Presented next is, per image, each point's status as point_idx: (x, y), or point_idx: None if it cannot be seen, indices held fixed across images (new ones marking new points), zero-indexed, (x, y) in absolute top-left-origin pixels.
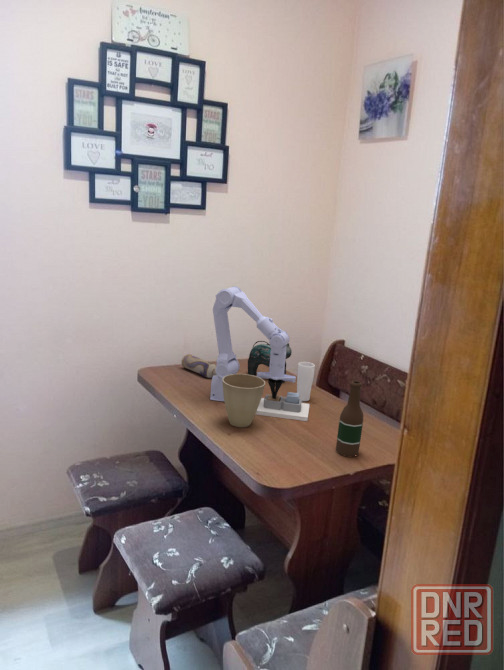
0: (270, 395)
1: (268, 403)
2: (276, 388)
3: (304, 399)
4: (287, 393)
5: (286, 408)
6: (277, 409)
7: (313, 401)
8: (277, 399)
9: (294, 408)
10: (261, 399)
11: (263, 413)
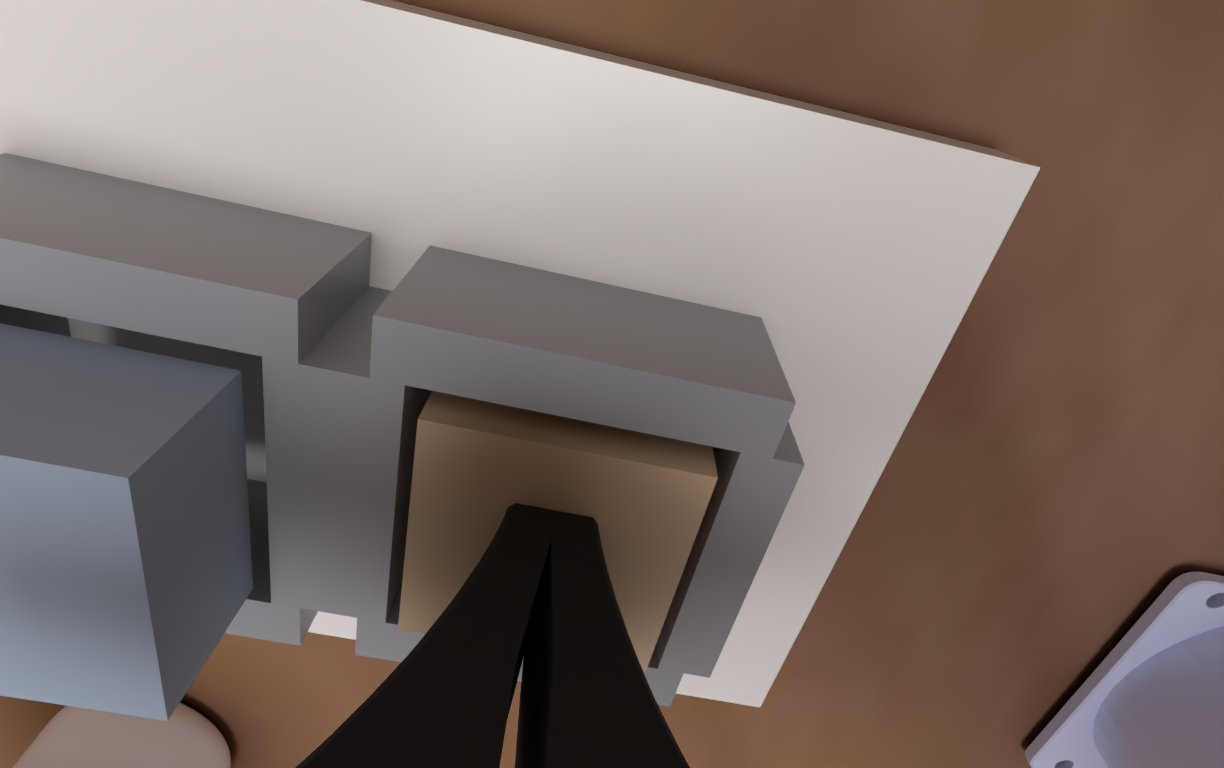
0: None
1: (697, 351)
2: (447, 747)
3: (93, 710)
4: (150, 637)
5: (270, 233)
6: (488, 263)
7: (4, 698)
8: (464, 465)
9: (54, 196)
10: (736, 649)
11: (810, 106)
